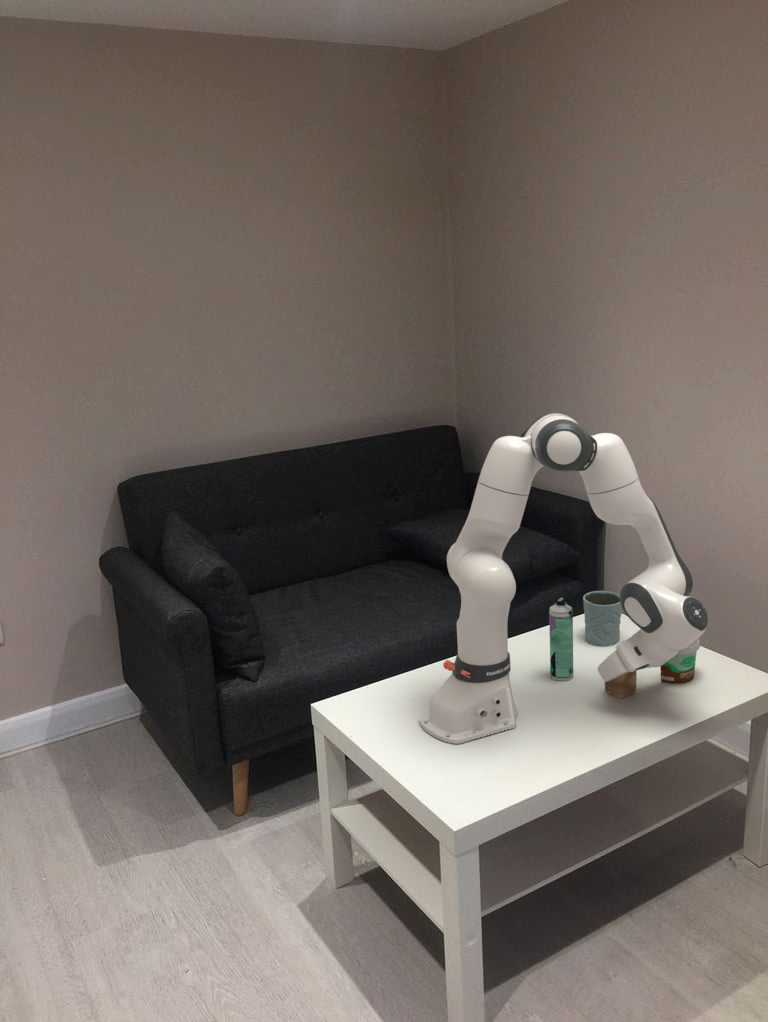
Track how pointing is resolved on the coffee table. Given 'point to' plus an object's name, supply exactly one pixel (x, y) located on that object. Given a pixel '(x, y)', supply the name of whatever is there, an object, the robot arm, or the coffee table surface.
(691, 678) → the ice cream tub
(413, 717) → the coffee table surface
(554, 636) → the spray can
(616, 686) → the walnut block
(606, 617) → the plant pot
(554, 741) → the coffee table surface
